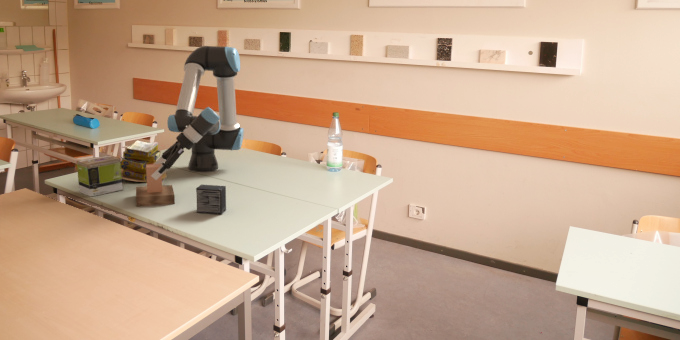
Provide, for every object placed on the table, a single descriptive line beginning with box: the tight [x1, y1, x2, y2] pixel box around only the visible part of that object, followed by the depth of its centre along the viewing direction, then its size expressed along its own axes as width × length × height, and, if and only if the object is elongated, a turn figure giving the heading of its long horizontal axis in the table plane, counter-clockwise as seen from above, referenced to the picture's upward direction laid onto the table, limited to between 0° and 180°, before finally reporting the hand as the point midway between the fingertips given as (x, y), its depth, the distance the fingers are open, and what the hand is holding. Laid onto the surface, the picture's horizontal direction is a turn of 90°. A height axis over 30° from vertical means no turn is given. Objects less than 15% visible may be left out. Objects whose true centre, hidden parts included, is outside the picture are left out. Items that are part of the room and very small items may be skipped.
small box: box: [195, 184, 227, 215], centre depth 218 cm, size 11×6×10 cm, turn 84°
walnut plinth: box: [135, 184, 176, 207], centre depth 230 cm, size 15×15×4 cm
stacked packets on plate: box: [120, 139, 168, 183], centre depth 262 cm, size 25×25×17 cm
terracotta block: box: [146, 164, 163, 193], centre depth 228 cm, size 6×5×11 cm
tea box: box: [76, 154, 123, 197], centre depth 236 cm, size 15×10×15 cm, turn 141°
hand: (153, 173), depth 227 cm, fingers open, 13 cm apart
